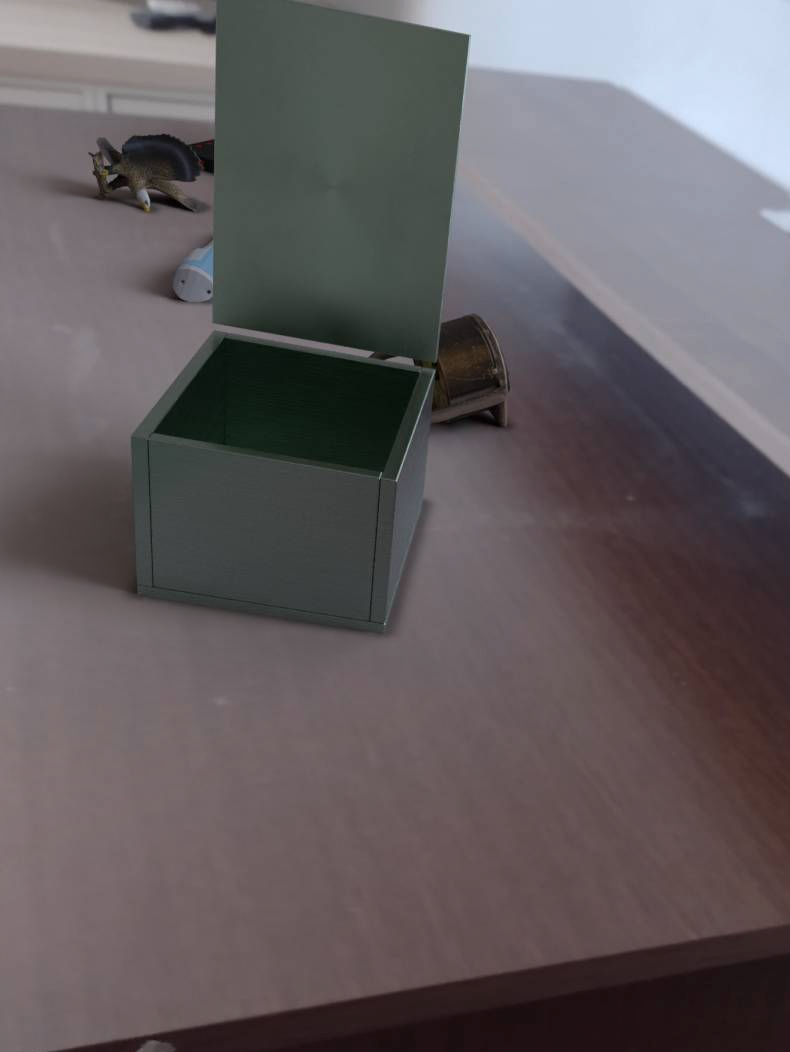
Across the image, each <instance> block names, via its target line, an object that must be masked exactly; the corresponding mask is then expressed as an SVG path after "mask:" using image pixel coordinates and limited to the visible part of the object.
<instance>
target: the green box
mask: <svg viewBox="0 0 790 1052" xmlns="http://www.w3.org/2000/svg"><path fill="white" fill-rule="evenodd" d="M368 357H369V356H368ZM368 357H367V356H363V355H358V354H357V355H356V354H350V353H345V352H340V351H335V350H329V349H328V350H327V349H322V348H319V347H312V346H305V345H301V344H300V345H299V344H295V343H288V342H283V341H278V340H272V339H266V338H262V337H255V336H250V335H244V334H238V333H232V332H228V331H222V330H216V329H213V331H212V332H211V333H210V334H209V336H208V337H207V338H206V340H205V341H204V342H203V343H202V345H200V347H199V348H198V350H197V351H196V352H195V354H194V355H193V356H192V357H191V358H190V360H188V362H187V364H186V365H185V366H184V367H183V369H182V370H181V371H180V372H179V374H178V375H177V376H176V378H175V379H174V380H173V381H172V383H171V384H170V385H169V387H168V388H167V389H166V390H165V392H164V393H163V394H162V395H161V397H159V399H158V400H157V402H155V404H154V406H152V408H151V409H150V410H149V412H148V413H147V414H146V416H145V417H144V418H143V419H142V421H141V422H140V423H139V424H138V426H137V427H136V428H135V430H134V431H133V432H132V433H131V435H130V454H131V455H130V456H131V457H130V458H131V477H132V478H131V479H132V501H133V502H132V503H133V525H134V547H135V569H136V571H135V572H136V591H137V595H138V596H145V597H152V598H157V599H164V600H170V601H175V602H176V601H178V602H183V603H188V604H189V603H190V604H195V605H202V606H208V607H214V608H220V609H221V608H222V609H227V610H233V611H239V612H240V611H241V612H245V613H252V614H258V615H264V616H271V617H277V618H283V619H290V620H296V621H303V622H309V623H315V624H321V625H328V626H333V627H334V626H335V627H340V628H346V629H352V630H360V631H365V632H371V633H379V634H385V632H386V629H387V626H388V621H389V618H390V615H391V612H392V608H393V605H394V602H395V599H396V595H397V592H398V589H399V586H400V582H401V578H402V575H403V573H404V568H405V565H406V562H407V558H408V555H409V552H410V548H411V546H412V543H413V539H414V535H415V532H416V528H417V525H418V521H419V518H420V515H421V511H422V508H423V501H424V493H425V480H426V471H427V463H428V462H427V461H428V453H429V452H428V451H429V441H430V431H431V430H430V429H431V424H430V422H431V411H432V401H433V391H434V381H435V370H434V369H429V368H424V367H423V368H421V367H419V366H414V364H406V363H401V362H397V361H392V360H391V361H390V360H380V359H374V358H368Z"/></svg>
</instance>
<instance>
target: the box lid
mask: <svg viewBox="0 0 790 1052" xmlns="http://www.w3.org/2000/svg"><path fill="white" fill-rule="evenodd" d="M215 7H216V8H215V69H214V70H215V71H214V73H215V75H214V81H215V82H214V86H215V87H214V139H215V144H214V174H213V223H212V225H213V234H212V240H213V296H212V306H211V307H212V309H211V310H212V311H211V312H212V314H211V316H212V317H211V321H212V324H214V325H219V326H220V325H221V326H225V327H231V328H236V329H237V328H238V329H242V330H249V331H254V332H255V331H256V332H259V333H264V334H271V335H277V336H282V337H288V338H294V339H299V340H304V341H310V342H316V343H321V344H327V345H331V346H333V345H334V346H339V347H343V348H349V349H355V350H360V351H367V352H371V353H374V352H377V353H383V354H388V355H394V356H398V357H399V358H405V359H410V360H411V359H412V360H413V359H416V360H422V361H428V362H433V363H436V361H437V357H438V348H439V338H440V329H441V323H442V318H443V308H444V299H445V291H446V290H445V289H446V280H447V271H448V261H449V252H450V241H451V233H452V223H453V214H454V204H455V203H454V202H455V194H456V184H457V175H458V165H459V156H460V146H461V138H462V137H461V136H462V126H463V118H464V109H465V108H464V107H465V99H466V88H467V79H468V70H469V60H470V49H471V41H472V35H471V34H469V33H463V32H459V31H453V30H449V29H444V28H438V27H434V26H428V25H424V24H419V23H413V22H408V21H404V20H403V21H402V20H399V19H393V18H389V17H384V16H378V15H373V14H368V13H364V12H358V11H353V10H348V9H343V8H339V7H334V6H329V5H323V4H318V3H313V2H308V1H303V0H215Z"/></svg>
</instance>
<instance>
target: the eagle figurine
mask: <svg viewBox="0 0 790 1052" xmlns="http://www.w3.org/2000/svg"><path fill="white" fill-rule="evenodd" d="M96 144H97V146H98V148H99V151H97V152H95V153H93V152H90V151H88V155H89V156H91V158H92V165H93V169H94V170H92V175H93V176H94V177H95V178H96V183H97V185H98V189H99V194H98V199H99V200H101V201H106V200H107V198H108V197H109V196H110V195H111V194H112V192H114V191H116V190H117V189H121V188H124V187H128V189H129V190H130V192H131V193H132V194H133V196H135V197H136V199H137V200H138V202H139V203H140V205H141V207H142V208H143V211H145V212H150V208H151V199H150V196H149V194H148V191H147V190H155V191H158V192H160V193H162V194H164V195H166V196H168V197H169V198H171V199H173V200H175V201H176V202H178V203H180V204H181V205H183V206H184V207H186V208H187V209H188V210H190V211H191V212H197V211H199V209H198V208H199V205H198V204H197V203H196V202H194V201H192V200H191V199H190V198H189V197H188V196H187V195H186V194H185V192H184V191H183V190H182V189H181V188H180V186H178V185H177V184H175V183H174V181H175V182H176V181H177V182H181V183H194V182H197V177H200V176H201V175H202V172H204V170H203V167H202V166H201V164H199V162H200V159H199V158H198V157H197V156H196V152H195V151H193V150H192V149H191V146H189V144H186V142H185V141H183V140H181V139H180V138H177V137H176V136H173V135H171V133H168V134H167V133H161V134H148V135H137V134H133V135H131V137H129V138H128V139H127V140H126V141H125V142H124V143H123V144H122V145H121V148H120V150H121V152H119V151H118V150H117V149H116V148H115V147H114V146H113V145H112V144H111V142H110V141H109V140H108V139H107V138H106V137H104V136H103V137H101V136H100V137H97V139H96ZM104 158H105V159H106V161H107V162H108V163H109V164H110V165H105V163H104ZM114 175H117V176H116V177H114V178H113V179H112V180H110V181H109V182H108V181H107V177H108V176H114Z"/></svg>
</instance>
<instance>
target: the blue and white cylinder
mask: <svg viewBox="0 0 790 1052" xmlns="http://www.w3.org/2000/svg"><path fill="white" fill-rule="evenodd" d="M172 289H173V291H174V292H175V294H176V296H178V298H179V299H180V300H183V301H185V302H188V303H203V302H207V301H208V300H211V298H213V239H212V240H211V241H210V242H209V243H208V244H207V245H205V246H204V247H201V248H200V247H198V248H193V249H191V250H190V251H189V253H188V254H187V255H186V256H185V257H184V259H183V260H182V261H181V262H180V264H179V265H178V266H177V267H176V270H175V272H174V276H173V280H172Z"/></svg>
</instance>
